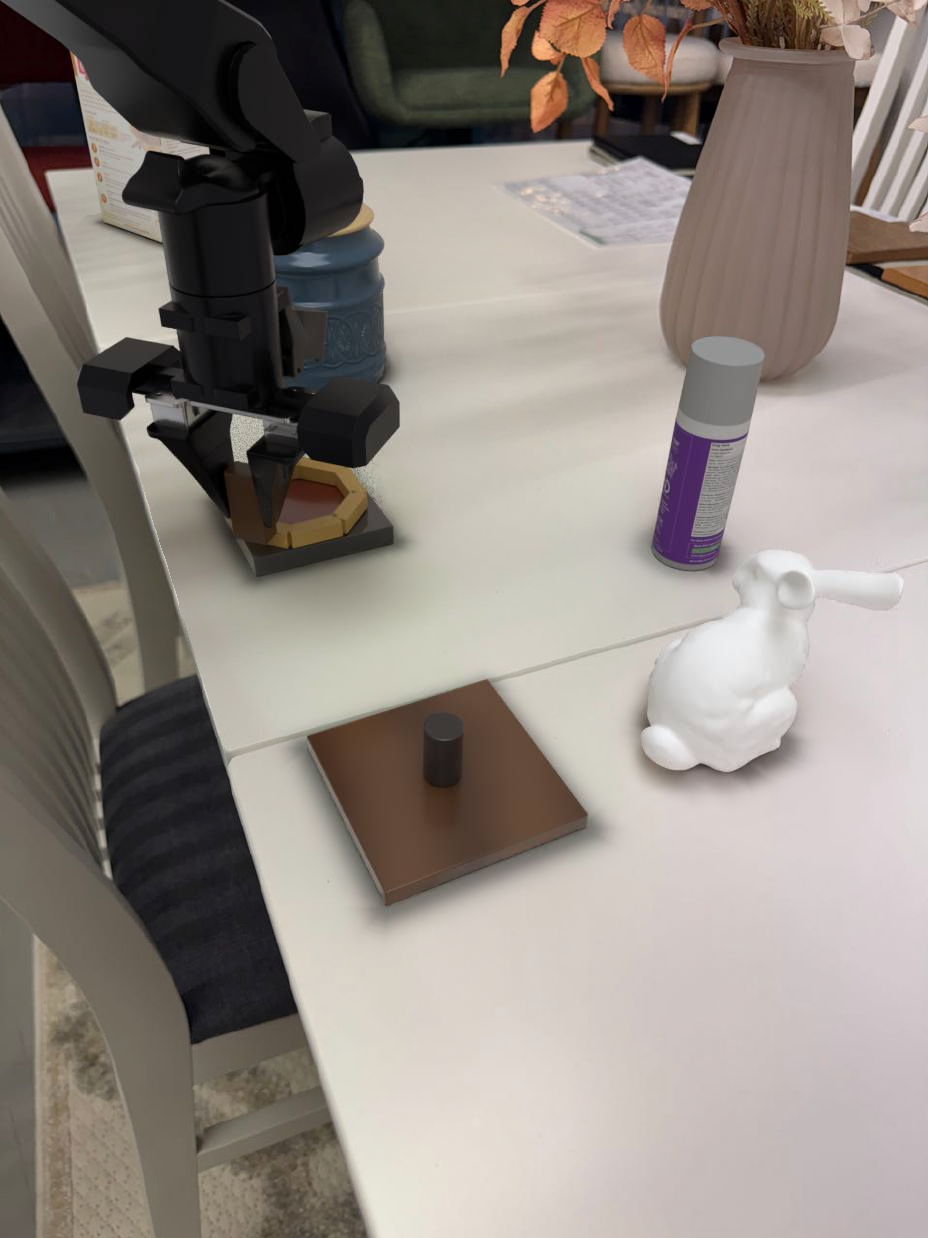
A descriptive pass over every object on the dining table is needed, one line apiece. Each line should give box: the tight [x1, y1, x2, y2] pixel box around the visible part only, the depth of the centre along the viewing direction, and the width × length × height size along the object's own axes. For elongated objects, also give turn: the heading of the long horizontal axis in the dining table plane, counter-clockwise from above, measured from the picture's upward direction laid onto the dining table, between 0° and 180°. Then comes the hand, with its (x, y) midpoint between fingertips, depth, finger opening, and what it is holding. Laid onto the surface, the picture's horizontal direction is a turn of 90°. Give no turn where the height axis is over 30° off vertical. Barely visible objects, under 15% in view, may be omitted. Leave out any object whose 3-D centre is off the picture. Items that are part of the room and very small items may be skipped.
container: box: [651, 335, 766, 571], centre depth 63 cm, size 5×5×15 cm
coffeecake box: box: [69, 50, 211, 243], centre depth 113 cm, size 15×7×20 cm, turn 51°
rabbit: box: [640, 549, 905, 773], centre depth 49 cm, size 12×9×12 cm
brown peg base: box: [306, 678, 589, 906], centre depth 48 cm, size 11×11×4 cm
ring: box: [224, 456, 368, 549], centre depth 65 cm, size 10×11×6 cm
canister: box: [273, 202, 387, 390], centre depth 83 cm, size 13×13×18 cm
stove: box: [220, 467, 395, 578], centre depth 68 cm, size 10×10×2 cm
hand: (252, 520), depth 62 cm, fingers closed
